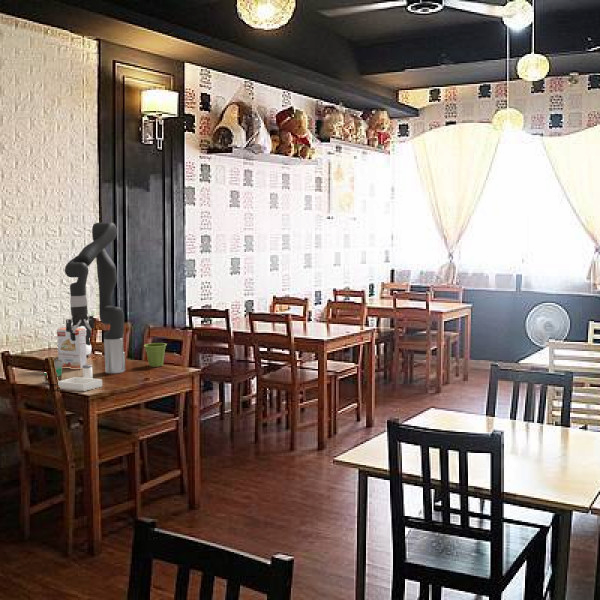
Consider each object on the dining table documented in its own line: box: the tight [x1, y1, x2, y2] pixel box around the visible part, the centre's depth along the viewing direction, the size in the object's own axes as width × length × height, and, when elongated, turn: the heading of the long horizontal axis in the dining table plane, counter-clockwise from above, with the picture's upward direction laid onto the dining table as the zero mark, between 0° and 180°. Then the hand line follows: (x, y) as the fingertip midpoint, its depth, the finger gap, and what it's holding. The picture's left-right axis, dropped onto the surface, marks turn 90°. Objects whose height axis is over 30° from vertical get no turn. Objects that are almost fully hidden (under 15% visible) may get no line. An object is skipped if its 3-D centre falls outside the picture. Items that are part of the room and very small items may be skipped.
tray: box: [58, 376, 103, 392], centre depth 355 cm, size 12×16×4 cm
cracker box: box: [56, 328, 88, 368], centre depth 405 cm, size 14×6×21 cm, turn 68°
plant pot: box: [143, 342, 168, 368], centre depth 408 cm, size 12×12×11 cm
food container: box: [44, 358, 63, 385], centre depth 369 cm, size 12×6×10 cm, turn 168°
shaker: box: [82, 364, 94, 379], centre depth 368 cm, size 4×4×8 cm
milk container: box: [59, 323, 92, 357], centre depth 439 cm, size 17×17×18 cm
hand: (81, 339), depth 364 cm, fingers open, 8 cm apart
